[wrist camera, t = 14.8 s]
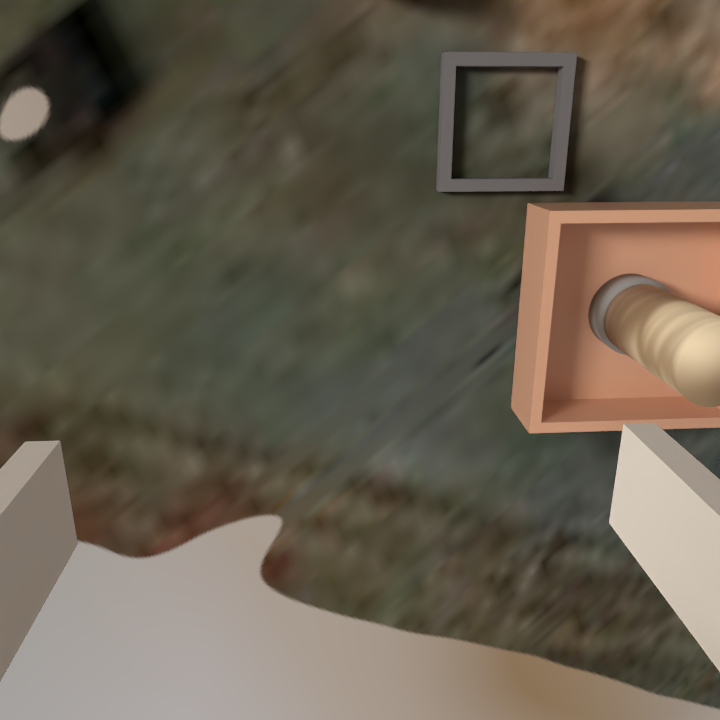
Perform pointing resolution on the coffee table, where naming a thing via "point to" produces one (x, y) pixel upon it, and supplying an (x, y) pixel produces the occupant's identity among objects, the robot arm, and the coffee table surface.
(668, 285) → the tray
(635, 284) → the beige rounded cylinder
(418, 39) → the coffee table surface
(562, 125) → the gray square frame
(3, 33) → the coffee table surface
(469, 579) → the coffee table surface
